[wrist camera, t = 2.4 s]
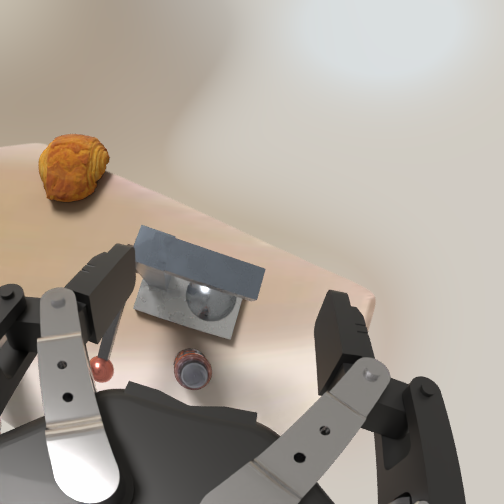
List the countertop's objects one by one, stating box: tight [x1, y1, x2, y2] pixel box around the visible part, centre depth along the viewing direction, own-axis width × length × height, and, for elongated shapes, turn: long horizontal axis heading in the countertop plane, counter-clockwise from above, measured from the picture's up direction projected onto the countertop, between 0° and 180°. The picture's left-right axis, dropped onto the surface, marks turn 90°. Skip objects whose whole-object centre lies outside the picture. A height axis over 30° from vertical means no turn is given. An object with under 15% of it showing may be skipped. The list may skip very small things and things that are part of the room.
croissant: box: [39, 134, 110, 202], centre depth 51 cm, size 14×16×8 cm
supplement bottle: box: [174, 349, 212, 390], centre depth 48 cm, size 6×6×11 cm
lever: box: [90, 244, 139, 383], centre depth 37 cm, size 19×4×4 cm, turn 164°
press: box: [133, 225, 265, 340], centre depth 42 cm, size 13×18×28 cm
